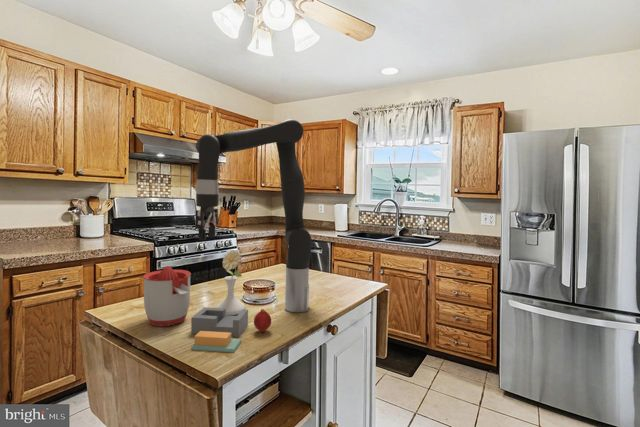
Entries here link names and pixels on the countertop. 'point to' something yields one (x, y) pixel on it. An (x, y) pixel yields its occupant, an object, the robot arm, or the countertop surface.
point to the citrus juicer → (166, 296)
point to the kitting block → (219, 321)
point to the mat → (230, 348)
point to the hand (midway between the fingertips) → (207, 238)
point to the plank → (213, 338)
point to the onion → (262, 320)
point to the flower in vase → (231, 284)
